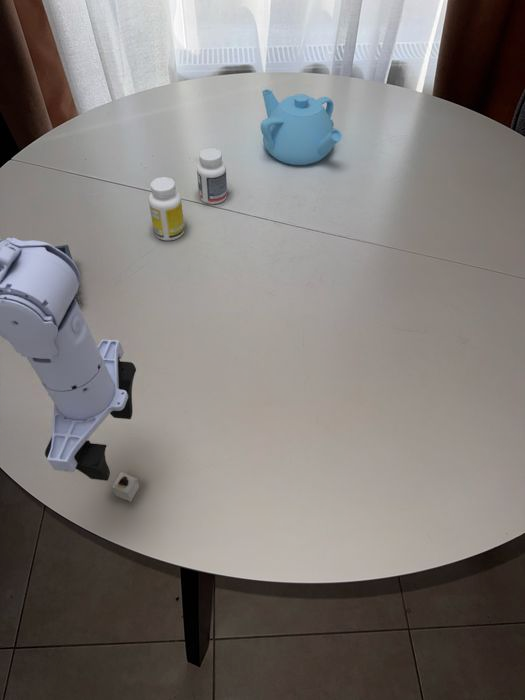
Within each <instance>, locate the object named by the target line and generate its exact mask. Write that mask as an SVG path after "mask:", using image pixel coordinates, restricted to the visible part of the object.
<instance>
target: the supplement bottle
mask: <svg viewBox="0 0 525 700" xmlns="http://www.w3.org/2000/svg"><path fill="white" fill-rule="evenodd" d="M150 191H151V193H150V194H149V196H148V205H149V211H150V217H151V223H152V229H153V233H154V235H155V237H156V238H158V239H159V240H162V241H175V240H177V239H179V238H181V237H182V236H183V234H184V233H185V221H184V213H183V205H182V198H181V195H180V192H178V190H177V188H176V182H175V180H173V178H170V177H166V176H162V177H157V178H154V179H153V180H152V181H151V183H150Z"/></svg>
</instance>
